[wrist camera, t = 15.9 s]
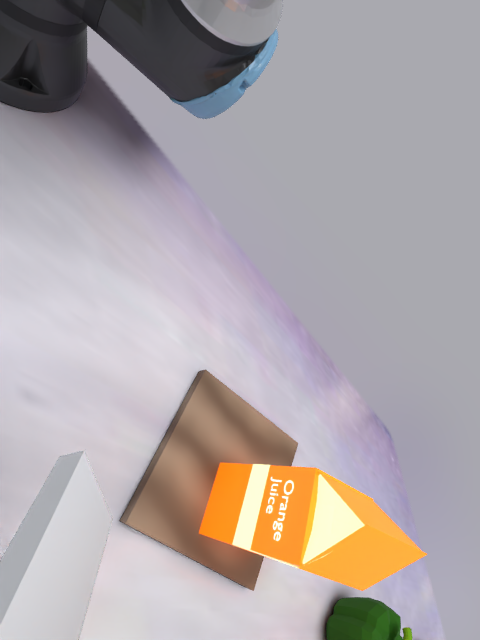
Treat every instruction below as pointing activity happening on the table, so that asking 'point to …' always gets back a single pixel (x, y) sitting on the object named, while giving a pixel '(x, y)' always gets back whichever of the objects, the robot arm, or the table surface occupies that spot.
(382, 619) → the bell pepper
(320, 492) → the orange juice
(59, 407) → the table surface
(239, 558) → the board
